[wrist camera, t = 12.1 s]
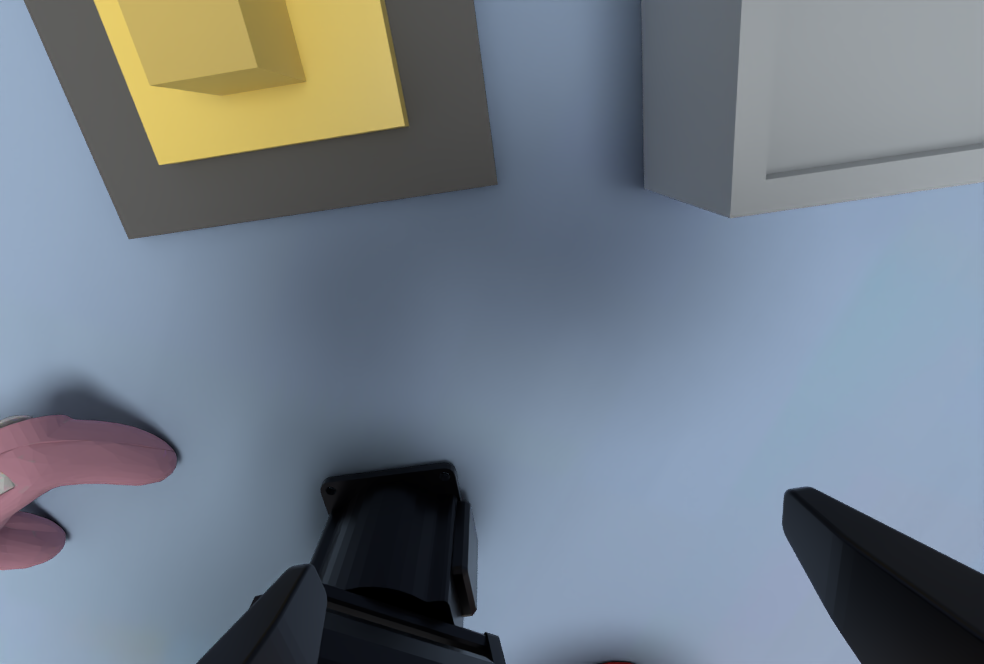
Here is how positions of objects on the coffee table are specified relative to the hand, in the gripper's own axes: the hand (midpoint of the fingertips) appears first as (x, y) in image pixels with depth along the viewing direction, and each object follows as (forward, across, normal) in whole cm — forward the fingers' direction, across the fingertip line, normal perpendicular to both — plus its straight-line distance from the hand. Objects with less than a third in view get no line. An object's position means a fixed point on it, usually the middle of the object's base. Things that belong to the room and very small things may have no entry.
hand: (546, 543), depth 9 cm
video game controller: (+12, +22, +3) cm, 25 cm away
